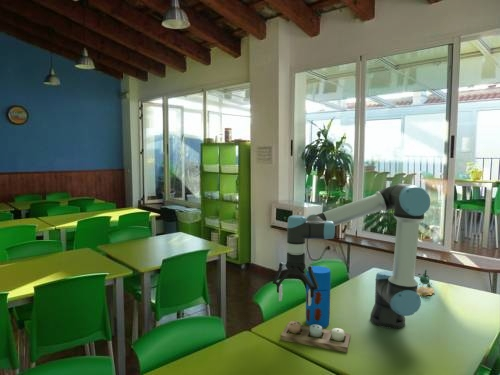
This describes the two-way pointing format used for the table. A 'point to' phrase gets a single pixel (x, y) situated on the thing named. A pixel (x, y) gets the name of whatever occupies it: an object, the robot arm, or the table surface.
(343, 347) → the board
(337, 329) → the button one
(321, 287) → the thermos
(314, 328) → the button two
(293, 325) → the button three
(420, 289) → the frog figurine
